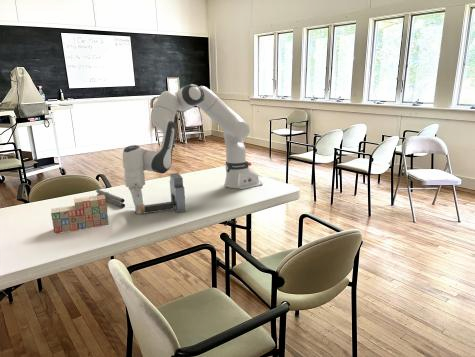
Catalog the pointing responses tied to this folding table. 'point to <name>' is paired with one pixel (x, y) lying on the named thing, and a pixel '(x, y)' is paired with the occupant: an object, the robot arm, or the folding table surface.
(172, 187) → the grey notched block
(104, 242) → the folding table surface
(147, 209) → the plug
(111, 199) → the metal rod assembly
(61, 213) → the stack of blocks
